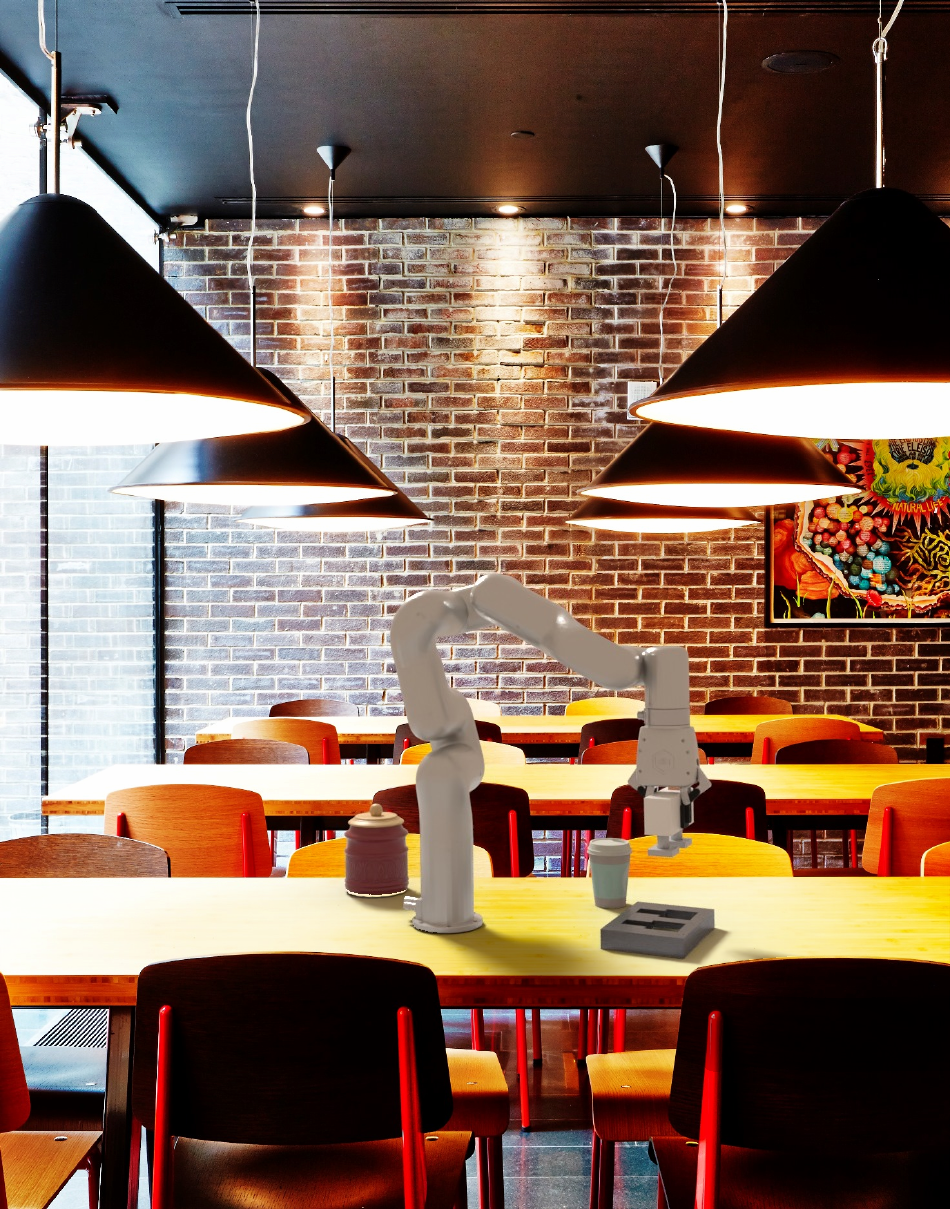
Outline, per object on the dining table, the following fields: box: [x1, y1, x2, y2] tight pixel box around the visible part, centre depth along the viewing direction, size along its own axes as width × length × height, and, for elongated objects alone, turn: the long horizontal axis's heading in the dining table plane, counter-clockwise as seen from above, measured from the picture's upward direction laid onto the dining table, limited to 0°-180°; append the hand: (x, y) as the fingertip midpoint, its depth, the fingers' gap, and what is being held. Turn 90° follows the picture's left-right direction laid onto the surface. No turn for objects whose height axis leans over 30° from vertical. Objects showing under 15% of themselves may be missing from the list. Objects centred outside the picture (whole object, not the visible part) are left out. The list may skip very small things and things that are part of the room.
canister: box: [343, 803, 410, 895], centre depth 225 cm, size 13×13×18 cm
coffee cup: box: [586, 837, 633, 909], centre depth 212 cm, size 8×9×12 cm
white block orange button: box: [643, 787, 695, 858], centre depth 188 cm, size 4×14×10 cm, turn 154°
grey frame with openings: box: [599, 901, 716, 960], centre depth 189 cm, size 14×20×3 cm
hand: (669, 825), depth 188 cm, fingers closed on white block orange button, 4 cm apart
